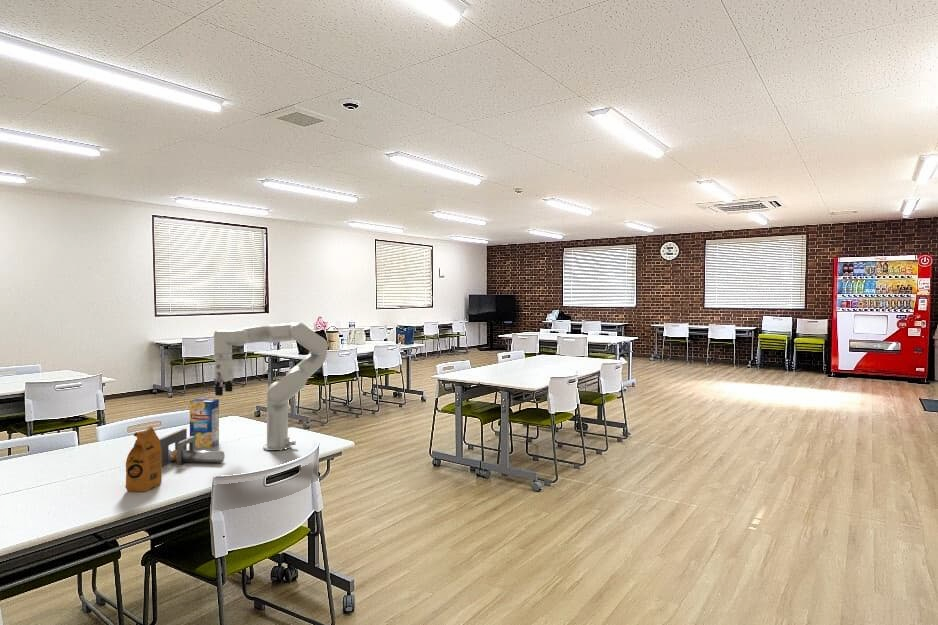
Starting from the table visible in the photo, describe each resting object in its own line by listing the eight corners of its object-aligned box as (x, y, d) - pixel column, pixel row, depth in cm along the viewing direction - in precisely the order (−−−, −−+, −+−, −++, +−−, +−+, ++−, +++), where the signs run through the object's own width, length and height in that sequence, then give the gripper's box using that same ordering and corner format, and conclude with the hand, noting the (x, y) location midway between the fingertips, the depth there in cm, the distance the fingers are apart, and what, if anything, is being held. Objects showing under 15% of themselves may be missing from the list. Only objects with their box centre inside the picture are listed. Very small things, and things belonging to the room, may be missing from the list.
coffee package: (120, 492, 206) (120, 433, 205) (141, 481, 218) (140, 425, 218) (147, 493, 206) (147, 433, 205) (166, 481, 218) (166, 425, 217)
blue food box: (211, 447, 267) (211, 401, 266) (189, 446, 267) (189, 401, 267) (219, 443, 273) (219, 399, 273) (197, 443, 274) (197, 398, 273)
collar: (194, 458, 250) (195, 436, 249) (180, 465, 239) (180, 442, 238) (191, 457, 250) (191, 436, 249) (177, 465, 239) (177, 442, 238)
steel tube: (224, 461, 246) (224, 449, 245) (218, 464, 241) (218, 453, 240) (171, 459, 247) (171, 448, 247) (164, 462, 242) (164, 451, 242)
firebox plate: (186, 454, 255) (186, 428, 254) (159, 468, 234) (159, 440, 234) (183, 454, 255) (183, 428, 254) (155, 468, 234) (155, 439, 234)
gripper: (222, 358, 250) (223, 396, 251) (239, 354, 267) (240, 390, 268) (206, 358, 250) (206, 396, 251) (223, 354, 268) (224, 390, 268)
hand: (224, 393), depth 260 cm, fingers open, 9 cm apart
